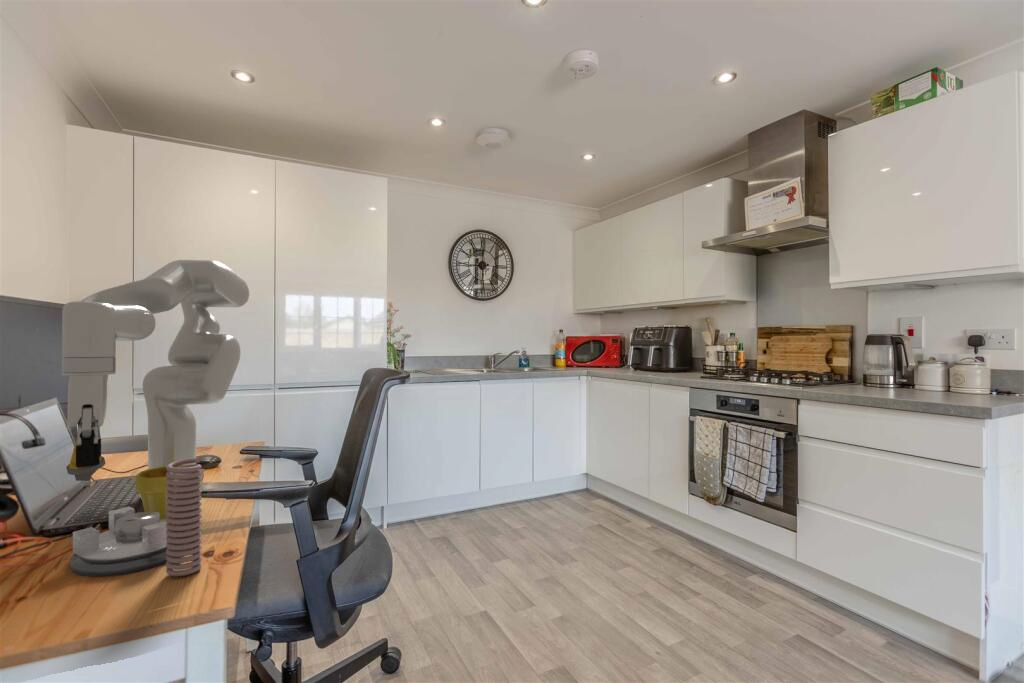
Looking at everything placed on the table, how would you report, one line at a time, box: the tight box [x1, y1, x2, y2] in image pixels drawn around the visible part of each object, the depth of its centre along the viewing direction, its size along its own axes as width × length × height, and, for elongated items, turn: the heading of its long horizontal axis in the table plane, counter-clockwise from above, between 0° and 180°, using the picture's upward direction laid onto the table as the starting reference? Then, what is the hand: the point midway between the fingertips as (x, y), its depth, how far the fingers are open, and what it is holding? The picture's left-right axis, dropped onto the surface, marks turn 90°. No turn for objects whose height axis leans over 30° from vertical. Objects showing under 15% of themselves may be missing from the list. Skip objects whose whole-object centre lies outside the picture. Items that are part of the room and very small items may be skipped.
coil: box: [165, 457, 203, 577], centre depth 74 cm, size 5×5×18 cm
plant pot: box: [135, 465, 184, 520], centre depth 98 cm, size 10×10×10 cm
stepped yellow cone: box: [65, 435, 106, 482], centre depth 86 cm, size 5×5×10 cm
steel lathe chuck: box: [72, 506, 191, 563], centre depth 81 cm, size 15×15×4 cm
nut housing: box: [69, 543, 191, 578], centre depth 81 cm, size 17×17×2 cm
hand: (88, 462), depth 87 cm, fingers closed on stepped yellow cone, 5 cm apart
